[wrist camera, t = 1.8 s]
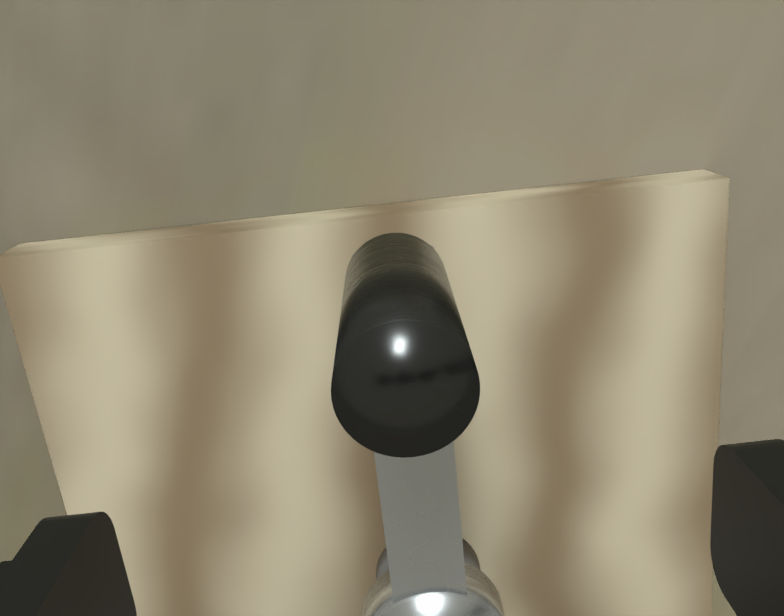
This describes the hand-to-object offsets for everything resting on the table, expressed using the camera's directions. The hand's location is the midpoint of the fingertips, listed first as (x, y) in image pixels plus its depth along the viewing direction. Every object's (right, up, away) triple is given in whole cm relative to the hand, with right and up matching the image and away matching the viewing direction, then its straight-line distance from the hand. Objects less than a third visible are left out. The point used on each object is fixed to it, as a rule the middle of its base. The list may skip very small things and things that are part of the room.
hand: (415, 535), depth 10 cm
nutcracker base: (0, -4, +20) cm, 20 cm away
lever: (+1, -4, +16) cm, 17 cm away
